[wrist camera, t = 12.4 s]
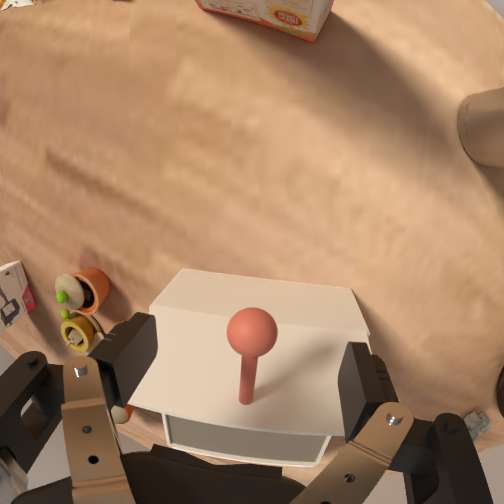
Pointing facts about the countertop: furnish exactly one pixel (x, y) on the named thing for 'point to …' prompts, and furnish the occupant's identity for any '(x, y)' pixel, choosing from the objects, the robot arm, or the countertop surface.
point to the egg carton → (477, 424)
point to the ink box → (14, 294)
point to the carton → (283, 311)
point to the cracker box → (277, 14)
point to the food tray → (16, 3)
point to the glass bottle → (501, 393)
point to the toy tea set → (85, 316)
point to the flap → (246, 372)
